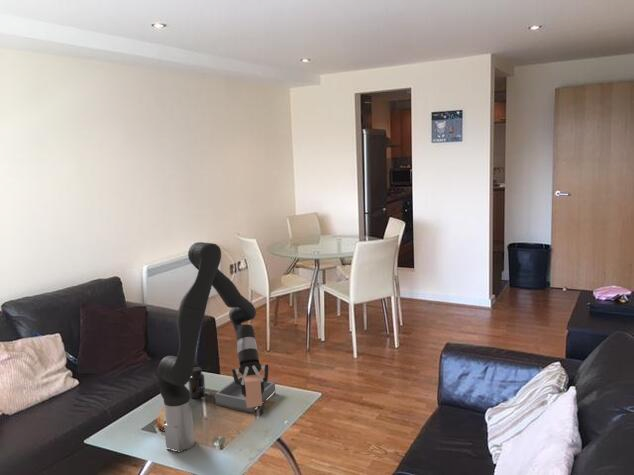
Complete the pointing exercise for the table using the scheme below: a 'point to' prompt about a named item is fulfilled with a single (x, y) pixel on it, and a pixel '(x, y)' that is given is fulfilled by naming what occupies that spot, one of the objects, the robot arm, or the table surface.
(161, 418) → the slice of bread
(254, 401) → the salmon pink block
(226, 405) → the charcoal bin
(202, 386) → the supplement bottle
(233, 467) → the table surface
